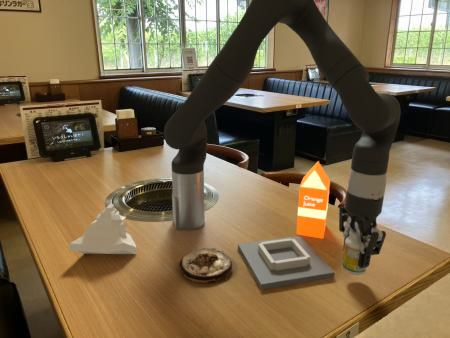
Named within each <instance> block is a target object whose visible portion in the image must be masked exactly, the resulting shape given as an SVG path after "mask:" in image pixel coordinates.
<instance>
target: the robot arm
mask: <svg viewBox="0 0 450 338" xmlns="http://www.w3.org/2000/svg"><path fill="white" fill-rule="evenodd" d="M277 24H282V25H283V24H284V25H285V26H287V27H288V28H290V29H291V30H292V31H293V32H294V33H295V34H296V35H298V37H299V38H300V39H301V40H302V41H303V43H304V44H305V46H306V47H307V49H308V50H309V53H310V55H311V56H312V59H313V61H314V63H315V65H316V66H317V69H318V70H319V72H320V73H321V74H322V76H323V77H324V78H325V80H326V81H327V82H328V83H329V85H330V86H331V88H333V90H334V91H335V92H336V93H337V94H338V95H339V99H340V101H341V103H342V105H343V107H344V109H345V111H346V113H347V115H348V118H349V119H350V120H351V121H352V122H353V124H354V125H355V126H356V127H358V128H359V129H360V130H362V132H361V136H360V138H359V140H358V141H357V142H356V143H355V144H354V146H353V150H352V157H351V164H350V165H351V166H350V171H349V174H348V177H347V184H346V185H347V186H346V191H345V193H346V194H345V200H344V206H339V208H338V209H339V212H338V213H339V215H338V218H339V219H338V221H339V222H338V224H339V225H338V230H339V232H340V233H341V232H342V237H343V245H342V247H343V248H342V252H344V245H345V239H346V238H347V237H348V236H349V232H350V229H352V230H354V231H355V232H356V233H357V241H358V242H359V243H360V250H361V252H360V255H359V261H358V266H359V267H360V268H366V267H367V268H368V267H369V266H370V263H371V258H372V256H376V255H379V254H380V253H381V250H382V247H383V244H384V243H385V239H386V236H387V233H386V231H385V230H380V229H379V228H378V223H377V218H378V217H379V216H380V215H381V214H382V211H383V205H384V198H385V193H386V188H387V186H386V185H387V175H388V174H387V172H388V166H389V160H390V152H391V149H392V145H393V143H394V140H395V137H396V135H397V131H398V127H399V124H400V119H401V112H402V110H401V104H400V102H399V101H398V99H397V98H396V97H395V96H394V95H393V94H390V93H385V92H383V93H377V91H376V90H375V89H374V87H373V86H372V84H371V83H370V81H369V80H370V74H369V72H368V70H367V69H366V67H365V65H363V64H362V62H361V61H360V60H359V59H358V57H357V56H356V55H355V54H354V53H353V52H352V51H351V49H350V48H349V47H348V46H347V45H346V43H344V42H343V40H342V39H341V37H339V36H338V34H337V33H336V32H335V31H334V30H333V29H332V27H331V26H330V24H329V23H328V21H327V20H326V19H325V17H324V16H323V14H322V12H321V11H320V9H319V7H318V5H317V4H316V2H315V0H251V1H250V4H249V5H248V7H247V8H246V11H245V12H244V14H243V16H242V18H241V20H240V21H239V22H238V24H237V26H236V28H235V29H234V30H233V31H232V33H231V34H230V36H229V37H228V38H227V41H226V42H225V43H224V44H223V46H222V48H221V49H220V50H219V52H218V53H216V56H215V57H214V59H213V60H212V62H211V63H210V64H209V66H207V69H206V70H205V72H204V73H203V75H202V76H201V78H200V79H199V80H198V82H197V84H195V86H194V88H193V89H192V91H191V92H190V93H189V95H188V97H187V98H186V99H185V101H184V102H183V103H182V104H181V105H180V107H179V108H177V110H176V111H175V112H174V113H173V114H172V115H171V117H170V118H169V119H168V120H167V122H166V123H165V126H164V129H163V138H164V141H165V143H166V144H167V146H168V147H170V148H172V149H174V150H178V151H177V154H176V155H175V156H174V157H173V159H172V161H171V179H172V180H171V181H172V182H171V183H172V186H171V187H172V192H171V199H172V201H171V203H172V205H171V207H172V221H173V225H174V228H175V229H176V230H183V231H184V230H187V231H190V230H197V229H200V228H201V227H203V226H204V225H205V223H206V221H205V218H206V217H205V216H206V215H205V177H204V176H205V174H204V173H205V170H204V169H205V168H204V167H205V162H206V159H207V149H208V144H207V143H208V132H207V131H208V129H207V126H206V122H205V120H207V118H208V117H210V116H211V115H212V114H213V113H214V112H215V111H217V110H218V109H219V108H221V107H222V106H224V104H226V103H227V102H228V101H229V100H230V99H232V97H234V95H235V94H236V93H237V92H238V91H239V90H240V88H242V86H243V84H244V83H245V82H246V81H247V79H248V78H249V76H250V74H251V72H252V70H253V67H254V64H255V61H256V57H257V54H258V51H259V48H260V47H261V44H262V43H263V42H264V40H265V38H267V36H268V34H270V33H271V31H272V30H273V28H274V27H275V26H276V25H277ZM344 223H345V224H344ZM368 235H369V237H368V238H363V237H362V236H368ZM366 242H368V247H366V248H365V243H366Z"/></svg>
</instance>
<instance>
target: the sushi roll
mask: <svg viewBox="0 0 450 338" xmlns="http://www.w3.org/2000/svg"><path fill="white" fill-rule="evenodd" d="M232 262H233V261H231V259H230V256H229V255H228V254H227V253H226V252H225V251H223V250H221V251H220V250H218V249H217V248H213V247H212V248H209V247H208V248H199V249H196V250H193V251H190V252H188V253H187V254H184V255H183V257H182V258H181V260H180V262H179V265H180V266H179V267H180V270H181V273H182V276H183V277H184V278H186V280H187V281H190V282H193V283H198V284H204V283H208V284H210V283H216V282H218V281H220V280H222V279H225V280H227V281H228V280H229V279H228V278H229V277H228V276H230V275H231V273H232V270H233V263H232Z"/></svg>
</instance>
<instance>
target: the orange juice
mask: <svg viewBox="0 0 450 338" xmlns="http://www.w3.org/2000/svg"><path fill="white" fill-rule="evenodd" d="M330 186H331V179H330V178H329V176H328V175H327V173H326V171H325V169H324V168H323V167H322V165H321V164H320V161H316V163H315V164H314V165H313V166H312V167H311V168H310V169H309V171H307V173H306V174H305V175H304V176H303V178H302V180H301V182H300V185H299V193H298V205H297V222H296V233H295V234H296V236H304V237H311V238H316V239H324V236H325V231H326V226H327V218H328V217H327V215H328V208H329V207H328V206H329V195H330Z"/></svg>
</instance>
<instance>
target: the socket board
mask: <svg viewBox="0 0 450 338" xmlns="http://www.w3.org/2000/svg"><path fill="white" fill-rule="evenodd" d="M237 250H238V252H239V254H240V255H241V257H242V258H243V260H244V262H245V264H246V266H247V268H248V269H249V271H250V273H251V275H252V276H253V279H254V280H255V282H256V283H257V285H258V287H259V289H260V290H261V291H263V290H264V291H265V290H268V289H275V288H281V287H287V286H293V285H294V286H295V285H299V284H304V283H312V282H316V281H323V280H328V279H334V278H335V271H334V270H333V269H332V267H330V266H329V265H328V263H327V262H326V261H325V260H324V259H323V258H322V257H321V256H320V255H319V254H318V253H317V252H316V251H315V250H314V249H313V248H312V246H310V244H309V243H308V241H306V240H305V239H304V238H303V237H302V235H295V236H294V235H293V236H288V237H287V236H286V237H280V238H279V237H278V238H272V239H266V240H265V239H264V240H258V241H249V242H244V243H243V242H242V243H241V242H240V243H237Z"/></svg>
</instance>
